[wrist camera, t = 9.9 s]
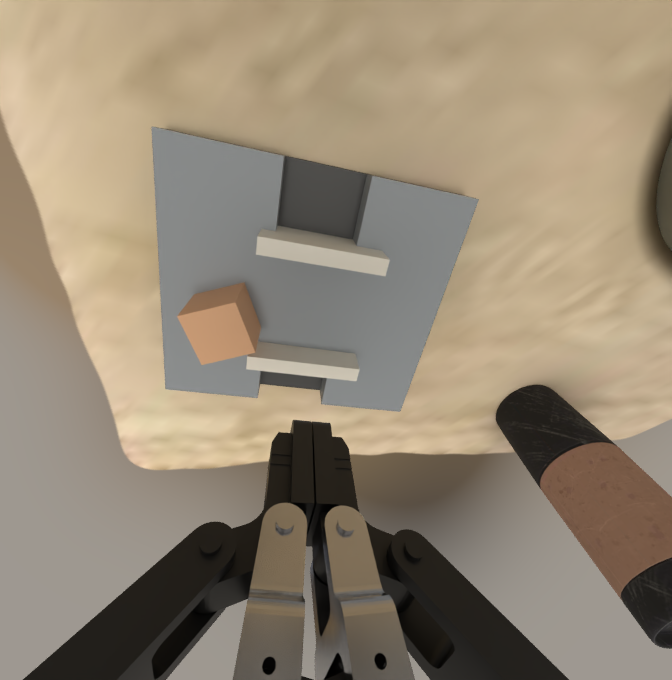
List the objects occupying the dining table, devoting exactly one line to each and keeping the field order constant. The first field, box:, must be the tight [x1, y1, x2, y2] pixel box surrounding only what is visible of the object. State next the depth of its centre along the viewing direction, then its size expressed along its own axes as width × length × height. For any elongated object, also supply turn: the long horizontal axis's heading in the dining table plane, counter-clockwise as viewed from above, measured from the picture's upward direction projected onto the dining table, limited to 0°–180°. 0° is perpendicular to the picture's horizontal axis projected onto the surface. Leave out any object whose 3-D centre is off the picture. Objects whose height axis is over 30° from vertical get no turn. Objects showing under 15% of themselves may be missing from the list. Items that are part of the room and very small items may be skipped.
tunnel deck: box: [152, 127, 479, 412], centre depth 27 cm, size 20×22×5 cm
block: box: [177, 282, 261, 365], centre depth 25 cm, size 4×4×4 cm
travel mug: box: [496, 385, 672, 649], centre depth 29 cm, size 8×8×20 cm
